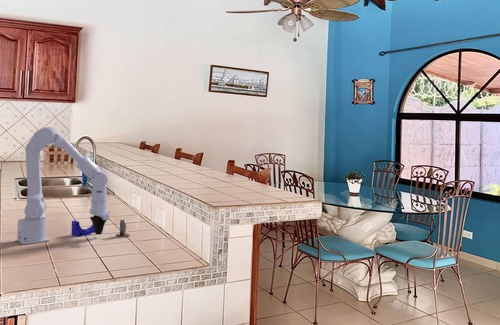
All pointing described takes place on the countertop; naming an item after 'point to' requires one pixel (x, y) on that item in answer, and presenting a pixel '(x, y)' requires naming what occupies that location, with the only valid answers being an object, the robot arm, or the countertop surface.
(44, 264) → the countertop surface
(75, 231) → the cable clip
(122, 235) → the post
